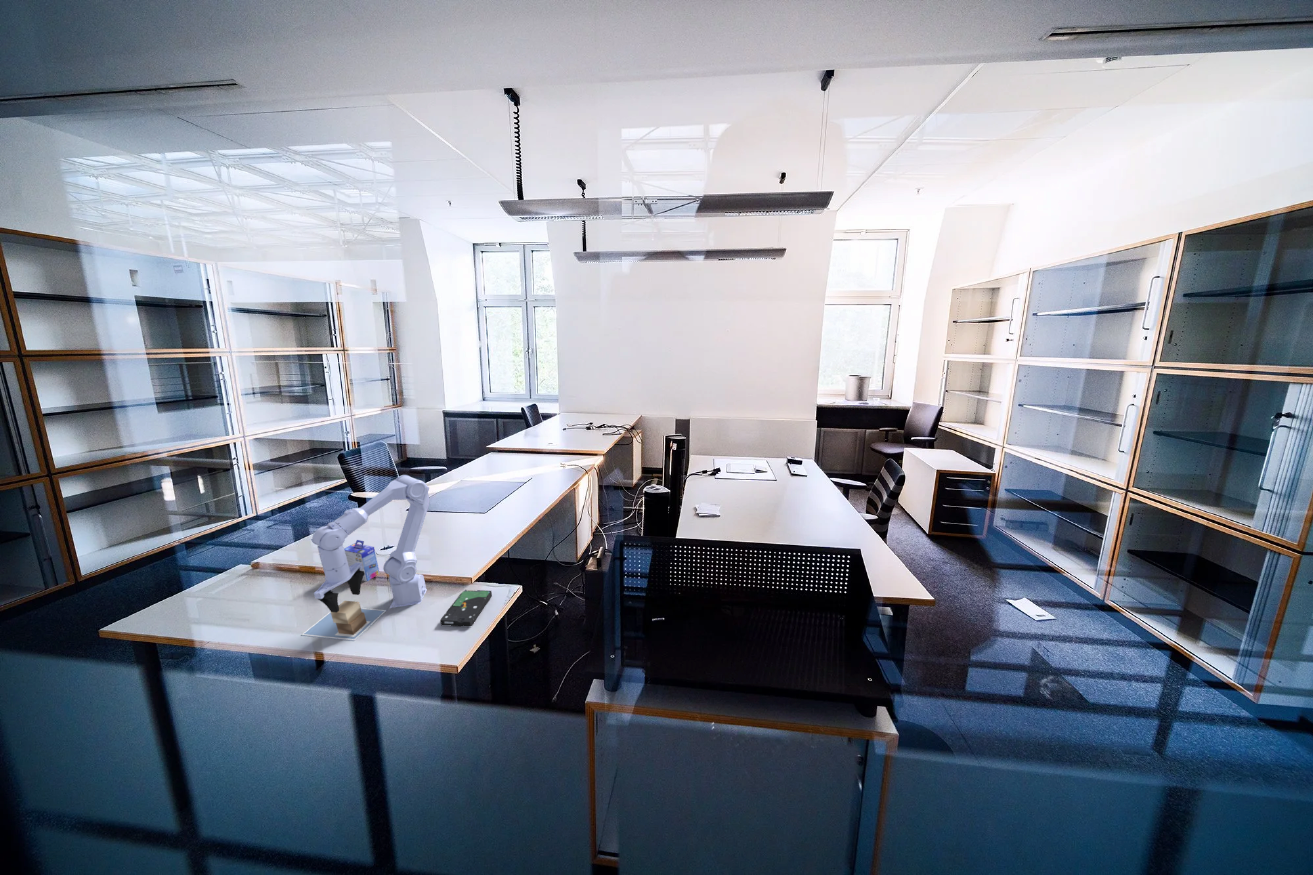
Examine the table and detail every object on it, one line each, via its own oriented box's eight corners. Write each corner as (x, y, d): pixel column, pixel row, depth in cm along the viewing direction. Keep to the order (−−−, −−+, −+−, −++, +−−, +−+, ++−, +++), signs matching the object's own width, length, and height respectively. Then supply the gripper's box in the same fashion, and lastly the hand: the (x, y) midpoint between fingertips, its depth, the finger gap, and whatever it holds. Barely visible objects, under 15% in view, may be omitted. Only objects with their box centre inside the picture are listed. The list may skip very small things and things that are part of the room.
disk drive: (472, 628, 126) (492, 596, 140) (471, 621, 125) (491, 589, 139) (440, 627, 126) (464, 595, 140) (439, 620, 125) (463, 588, 139)
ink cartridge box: (381, 574, 151) (373, 541, 146) (367, 583, 146) (359, 549, 141) (361, 569, 153) (353, 536, 149) (347, 578, 148) (338, 544, 144)
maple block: (361, 612, 125) (359, 601, 124) (348, 624, 120) (345, 613, 119) (347, 610, 125) (344, 600, 124) (333, 622, 121) (330, 611, 119)
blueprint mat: (387, 611, 132) (386, 609, 131) (354, 642, 119) (354, 640, 119) (338, 607, 134) (337, 605, 133) (301, 636, 121) (300, 635, 121)
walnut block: (366, 622, 126) (364, 612, 125) (353, 634, 121) (350, 624, 120) (352, 621, 127) (349, 611, 125) (338, 633, 122) (335, 622, 121)
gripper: (344, 549, 124) (353, 585, 128) (299, 579, 110) (312, 618, 115) (364, 551, 123) (373, 587, 128) (322, 581, 110) (334, 620, 114)
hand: (346, 602), depth 121 cm, fingers open, 7 cm apart
